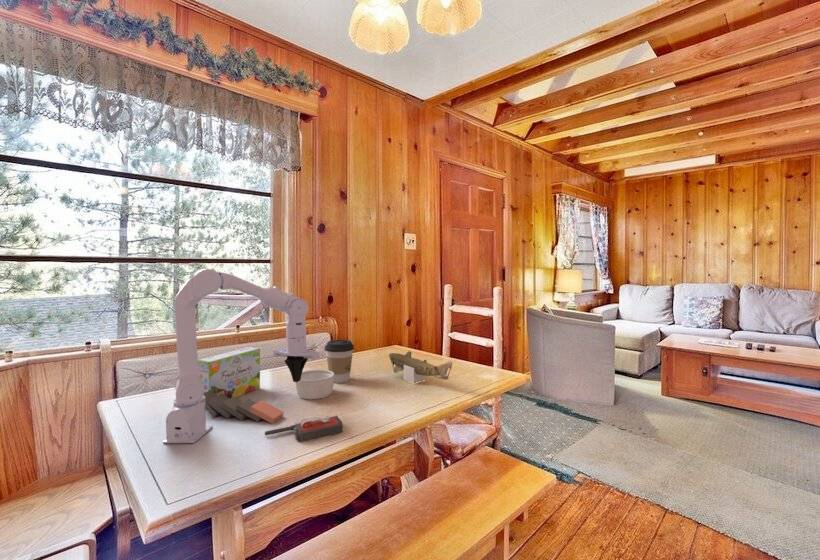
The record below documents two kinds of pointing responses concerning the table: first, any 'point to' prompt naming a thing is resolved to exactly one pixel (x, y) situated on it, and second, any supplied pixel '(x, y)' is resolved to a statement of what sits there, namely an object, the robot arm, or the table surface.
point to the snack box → (231, 372)
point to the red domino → (266, 411)
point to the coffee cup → (339, 359)
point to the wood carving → (417, 368)
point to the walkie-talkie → (313, 428)
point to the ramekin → (315, 384)
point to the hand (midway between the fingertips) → (296, 380)
